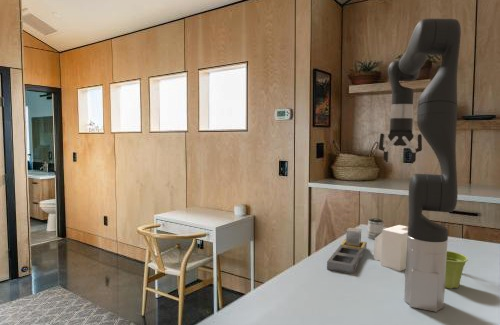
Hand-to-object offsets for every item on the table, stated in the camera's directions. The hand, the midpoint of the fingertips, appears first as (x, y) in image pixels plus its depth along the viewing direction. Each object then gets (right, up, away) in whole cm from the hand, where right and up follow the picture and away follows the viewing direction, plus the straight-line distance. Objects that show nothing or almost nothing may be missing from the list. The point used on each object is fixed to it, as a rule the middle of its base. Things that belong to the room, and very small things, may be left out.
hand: (399, 162), depth 132 cm
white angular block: (-6, -34, -8) cm, 35 cm away
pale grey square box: (-16, -33, +3) cm, 37 cm away
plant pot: (+3, -36, -26) cm, 44 cm away
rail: (-20, -33, -5) cm, 39 cm away
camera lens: (-2, -32, +21) cm, 38 cm away
